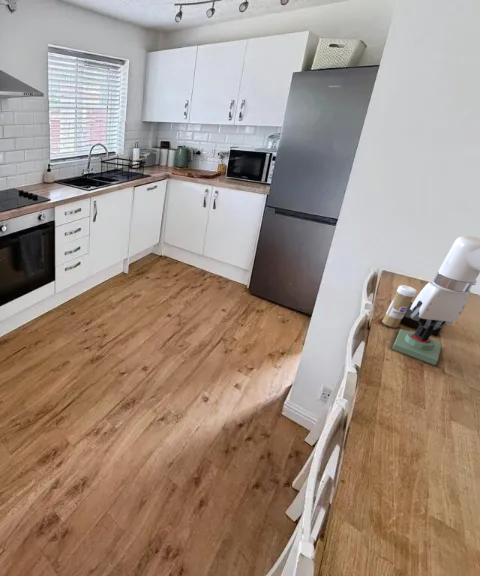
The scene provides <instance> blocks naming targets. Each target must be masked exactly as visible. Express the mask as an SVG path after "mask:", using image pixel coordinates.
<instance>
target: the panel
mask: <svg viewBox="0 0 480 576" xmlns="http://www.w3.org/2000/svg"><path fill="white" fill-rule="evenodd" d="M412 304H413V301H411V302H410V304H409V306H408V308H407V311H406V313H405V314H404V316H403V318H402V320H401V322H400V323H399V325H402V326H406V327H408V328H411V329H413V330H417V328H418V327H419V325H420V324H419V323H418V321H415V320H413V319H412V318H410V315H411V314H412V313H413V311H411V310H410V308H411V306H412ZM442 327H443V325H441V326H439V327H438V329H436V330H433V332H432V334H431V335H430V336H435V337H438V335H439V333H440V332H441V330H442Z"/></svg>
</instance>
